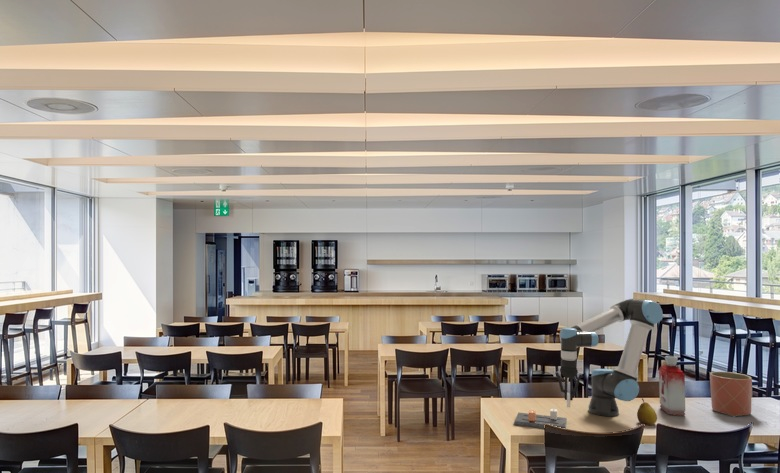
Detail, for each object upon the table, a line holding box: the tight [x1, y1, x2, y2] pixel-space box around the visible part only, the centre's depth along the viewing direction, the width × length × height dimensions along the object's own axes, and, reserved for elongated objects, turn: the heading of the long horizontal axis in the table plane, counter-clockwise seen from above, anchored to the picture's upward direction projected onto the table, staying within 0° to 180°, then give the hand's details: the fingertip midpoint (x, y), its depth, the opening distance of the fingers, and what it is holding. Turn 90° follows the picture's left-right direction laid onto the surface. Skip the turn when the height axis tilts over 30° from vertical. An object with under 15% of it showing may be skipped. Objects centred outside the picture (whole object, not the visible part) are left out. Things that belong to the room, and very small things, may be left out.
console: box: [514, 412, 568, 429], centre depth 254 cm, size 24×15×2 cm, turn 69°
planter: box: [709, 371, 753, 417], centre depth 275 cm, size 19×19×20 cm
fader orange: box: [528, 410, 537, 421], centre depth 252 cm, size 3×4×4 cm
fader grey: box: [549, 408, 558, 420], centre depth 255 cm, size 3×4×4 cm
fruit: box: [636, 397, 658, 426], centre depth 255 cm, size 9×9×12 cm
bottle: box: [658, 355, 686, 417], centre depth 275 cm, size 14×10×30 cm
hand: (568, 406), depth 252 cm, fingers closed
